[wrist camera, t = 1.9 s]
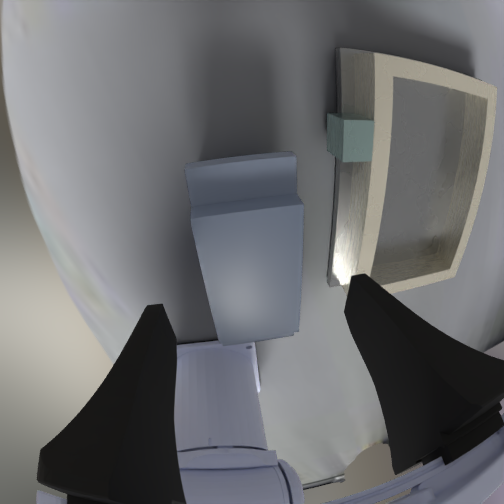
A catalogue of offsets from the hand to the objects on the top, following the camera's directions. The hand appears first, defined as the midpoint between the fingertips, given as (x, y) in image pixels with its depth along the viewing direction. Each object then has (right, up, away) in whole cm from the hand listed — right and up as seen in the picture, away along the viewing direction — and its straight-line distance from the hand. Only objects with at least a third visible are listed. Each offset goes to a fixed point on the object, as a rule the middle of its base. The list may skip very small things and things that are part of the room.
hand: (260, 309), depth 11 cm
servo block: (-1, +4, +6) cm, 7 cm away
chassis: (+10, +7, +5) cm, 13 cm away
